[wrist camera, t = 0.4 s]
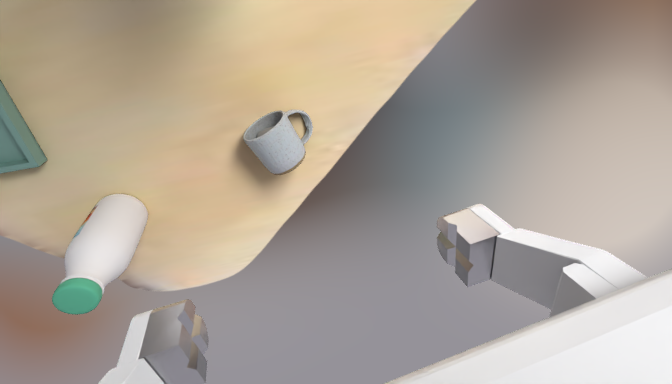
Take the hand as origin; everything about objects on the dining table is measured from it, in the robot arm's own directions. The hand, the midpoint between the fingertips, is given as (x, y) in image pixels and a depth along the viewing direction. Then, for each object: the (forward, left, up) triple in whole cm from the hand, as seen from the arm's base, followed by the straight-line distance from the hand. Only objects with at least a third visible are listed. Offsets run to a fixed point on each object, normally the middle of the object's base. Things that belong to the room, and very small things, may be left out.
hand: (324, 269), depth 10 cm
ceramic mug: (+11, +3, -47) cm, 48 cm away
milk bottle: (+20, -26, -47) cm, 57 cm away
